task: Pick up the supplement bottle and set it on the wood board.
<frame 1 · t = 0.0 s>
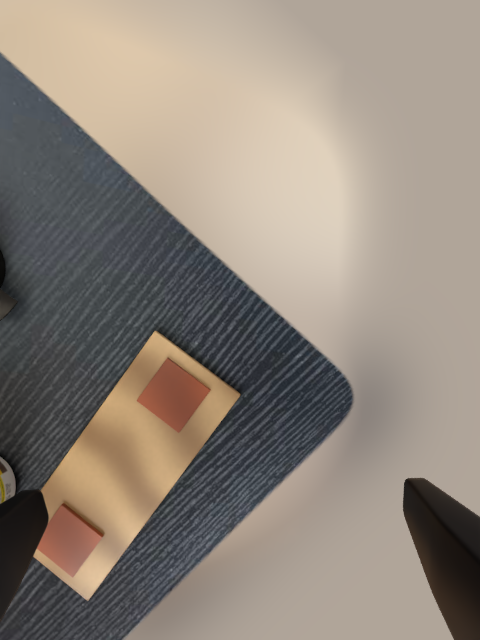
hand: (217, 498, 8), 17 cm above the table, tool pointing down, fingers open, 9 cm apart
wood board: (123, 465, 26), on the table
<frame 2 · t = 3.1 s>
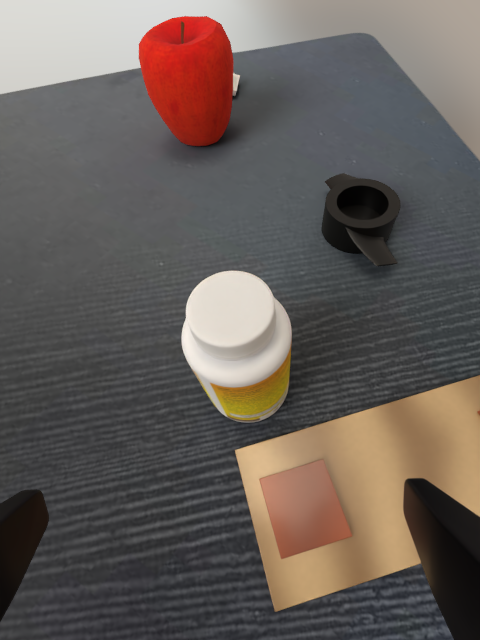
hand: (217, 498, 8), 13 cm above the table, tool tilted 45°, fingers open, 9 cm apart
apple: (203, 141, 39), on the table
supplement bottle: (248, 385, 23), on the table
black hollow round piece: (354, 230, 30), on the table
wood board: (415, 470, 20), on the table
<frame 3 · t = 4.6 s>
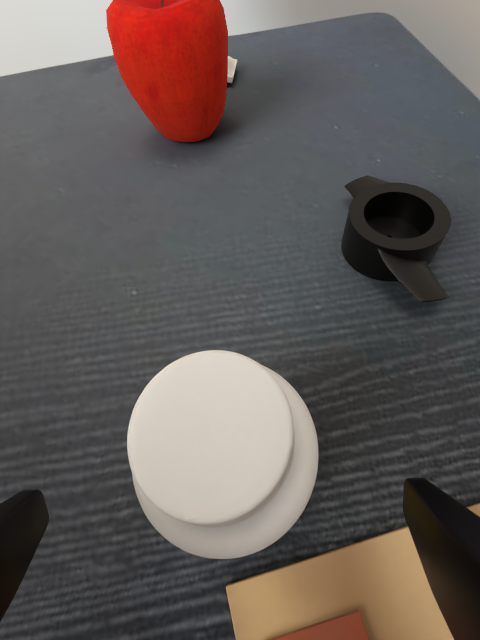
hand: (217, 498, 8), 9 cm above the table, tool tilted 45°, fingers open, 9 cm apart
apple: (192, 137, 32), on the table
supplement bottle: (246, 473, 17), on the table
black hollow round piece: (384, 249, 23), on the table
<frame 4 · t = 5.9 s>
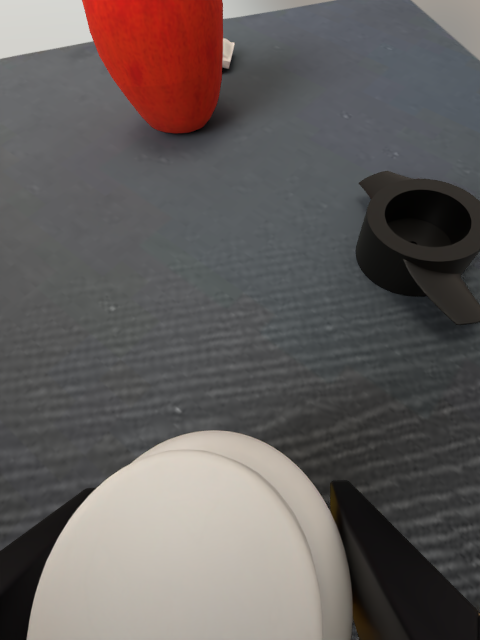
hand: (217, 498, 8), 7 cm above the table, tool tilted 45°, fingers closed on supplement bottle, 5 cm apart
apple: (184, 127, 29), on the table
supplement bottle: (243, 543, 13), on the table, touching gripper
toy car: (195, 68, 34), on the table
black hollow round piece: (406, 257, 19), on the table
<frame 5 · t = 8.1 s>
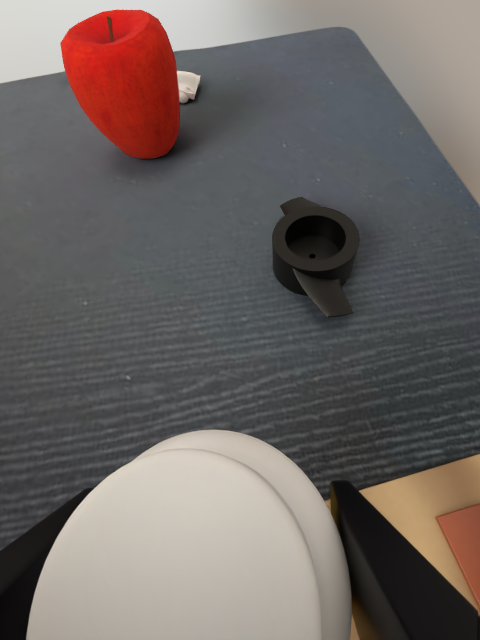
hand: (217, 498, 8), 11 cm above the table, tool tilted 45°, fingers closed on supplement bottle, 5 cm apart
apple: (152, 152, 34), on the table
supplement bottle: (243, 542, 13), point 4 cm above the table, touching gripper
toy car: (167, 97, 39), on the table
black hollow round piece: (311, 265, 25), on the table
wood board: (353, 595, 16), on the table
when the fingers open (7 cm above the table, at t = 10.5 s): supplement bottle stays where it is, resting on wood board.
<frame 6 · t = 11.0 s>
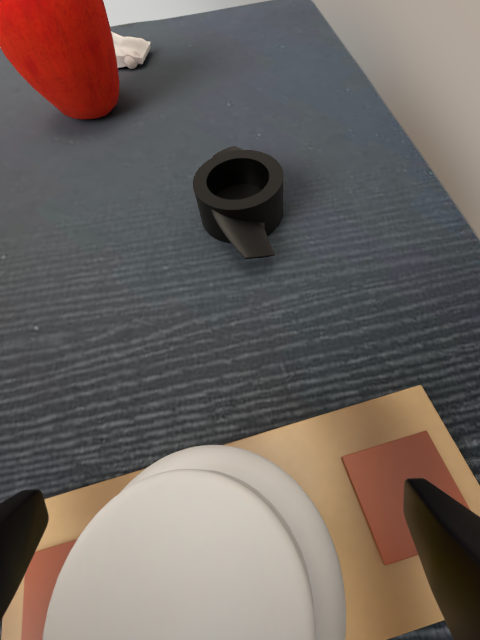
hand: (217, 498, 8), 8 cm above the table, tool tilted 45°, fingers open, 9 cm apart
apple: (95, 115, 33), on the table
supplement bottle: (243, 548, 14), resting on wood board
toy car: (117, 64, 38), on the table
black hollow round piece: (242, 215, 24), on the table
wood board: (245, 543, 14), on the table
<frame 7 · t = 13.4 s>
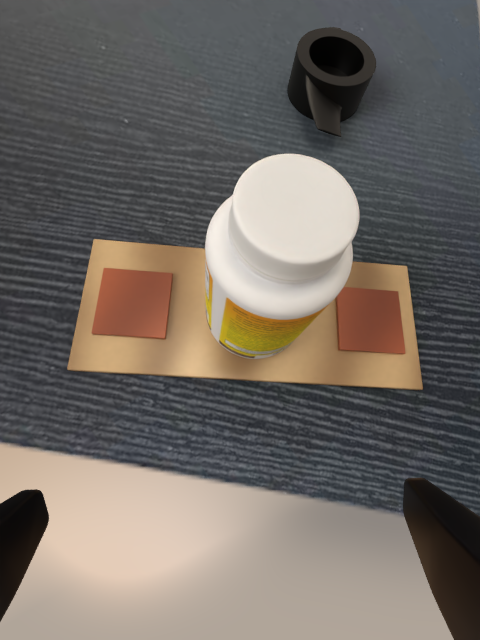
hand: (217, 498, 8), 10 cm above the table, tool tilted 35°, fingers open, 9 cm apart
supplement bottle: (252, 315, 20), resting on wood board
black hollow round piece: (322, 97, 27), on the table
wood board: (253, 314, 20), on the table
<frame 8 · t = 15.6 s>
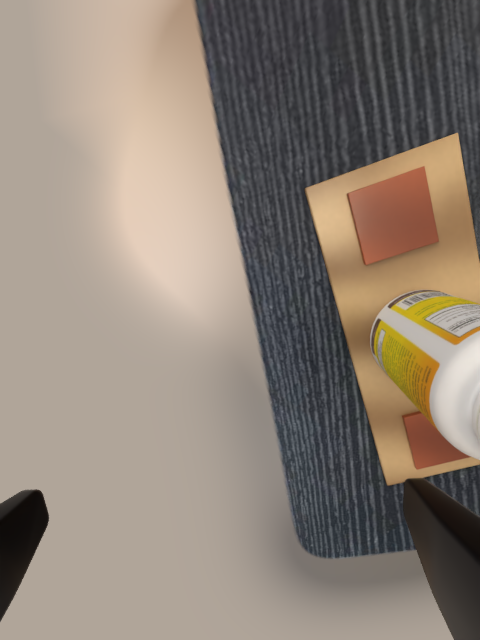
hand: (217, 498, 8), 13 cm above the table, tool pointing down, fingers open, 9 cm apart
supplement bottle: (413, 332, 20), resting on wood board
wood board: (414, 332, 20), on the table
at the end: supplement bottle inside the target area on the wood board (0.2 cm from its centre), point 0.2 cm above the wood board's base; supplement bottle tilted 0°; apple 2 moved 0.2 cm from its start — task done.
